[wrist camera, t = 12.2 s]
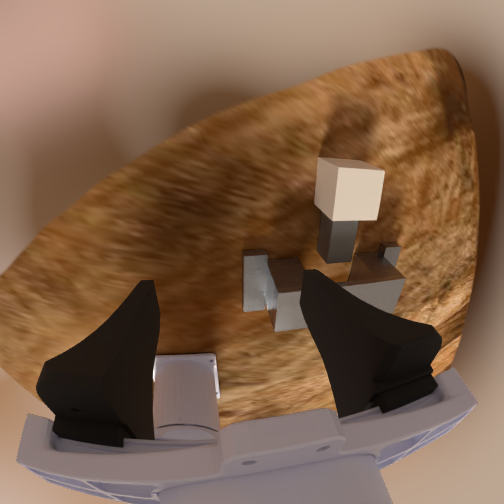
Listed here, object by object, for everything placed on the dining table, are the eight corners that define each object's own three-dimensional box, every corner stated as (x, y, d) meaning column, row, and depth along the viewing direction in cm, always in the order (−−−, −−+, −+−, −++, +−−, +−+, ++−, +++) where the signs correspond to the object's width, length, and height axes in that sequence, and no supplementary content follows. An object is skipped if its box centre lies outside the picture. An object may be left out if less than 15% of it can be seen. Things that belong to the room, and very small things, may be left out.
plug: (347, 248, 26) (365, 269, 23) (308, 250, 25) (323, 273, 22) (360, 160, 22) (384, 170, 18) (318, 157, 21) (338, 167, 18)
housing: (382, 289, 29) (404, 316, 25) (242, 305, 27) (250, 342, 23) (395, 242, 27) (423, 266, 22) (242, 250, 24) (252, 284, 20)
